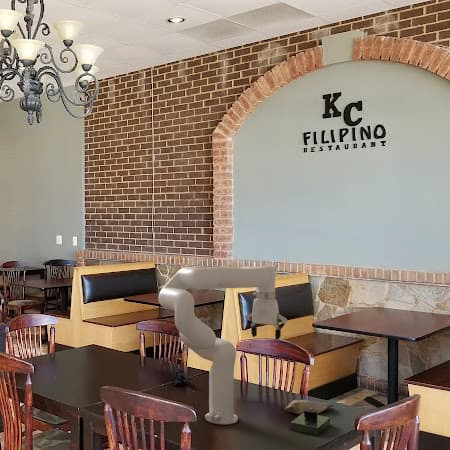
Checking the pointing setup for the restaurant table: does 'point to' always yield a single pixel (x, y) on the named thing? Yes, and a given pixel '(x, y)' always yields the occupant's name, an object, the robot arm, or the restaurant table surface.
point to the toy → (180, 378)
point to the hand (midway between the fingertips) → (265, 337)
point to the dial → (310, 414)
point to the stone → (306, 406)
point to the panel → (310, 425)
